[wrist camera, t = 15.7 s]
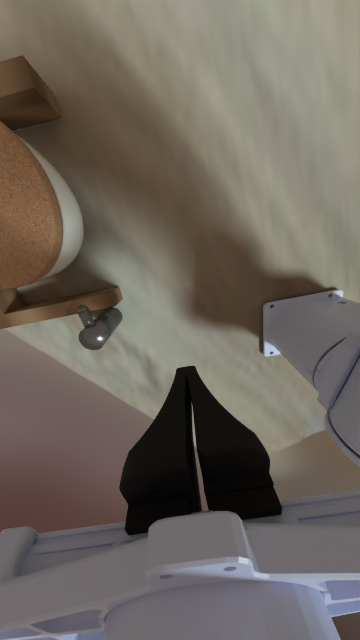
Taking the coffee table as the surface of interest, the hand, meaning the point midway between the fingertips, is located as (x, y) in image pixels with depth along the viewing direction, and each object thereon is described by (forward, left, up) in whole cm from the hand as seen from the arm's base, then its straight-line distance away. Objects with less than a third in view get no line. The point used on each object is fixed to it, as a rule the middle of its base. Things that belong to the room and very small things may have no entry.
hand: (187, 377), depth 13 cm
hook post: (+9, -4, -10) cm, 14 cm away
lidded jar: (+12, -14, -11) cm, 21 cm away
